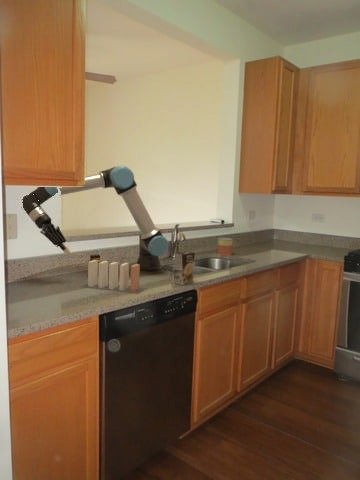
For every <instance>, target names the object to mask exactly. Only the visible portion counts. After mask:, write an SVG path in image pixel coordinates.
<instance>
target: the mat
mask: <svg viewBox="0 0 360 480" xmlns="http://www.w3.org/2000/svg"><path fill="white" fill-rule="evenodd" d="M119 287H120V284H118V287H116V288H114V289H109V283H108V286H106V287H103V288H98V284H97V285H95V286H93V287H88V283H86V284H84V285H81V286H80V288H85V289H93V290H102V291H111V292H116V293H118V292H119V293H126V294H135V295H139V294H141V293H143V292H144V291H146V290H148V288H145V287H140V286H139V289H138V290H137V291H135V292H130V285H128V288H127V289H125V290H124V291H120V290H119Z"/></svg>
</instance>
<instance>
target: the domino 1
mask: <svg viewBox="0 0 360 480" xmlns="http://www.w3.org/2000/svg"><path fill="white" fill-rule="evenodd" d="M89 261H90V260H89ZM89 261H88V262H87V263H88V265H87V284H88V287H93V286H95V285H97V284H98V260H93V261H90V262H89Z"/></svg>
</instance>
